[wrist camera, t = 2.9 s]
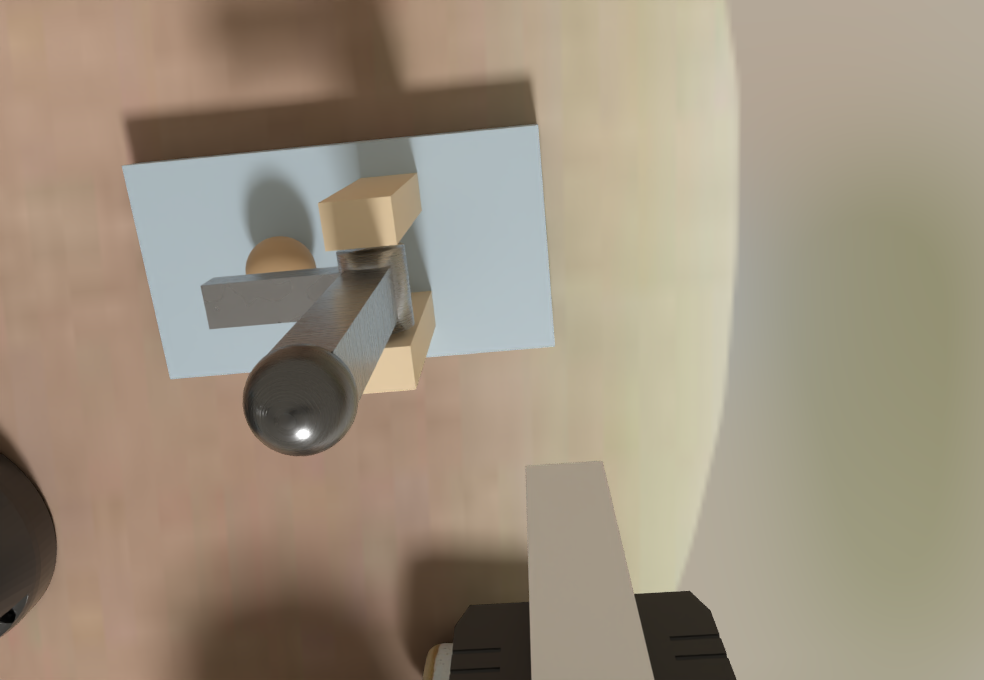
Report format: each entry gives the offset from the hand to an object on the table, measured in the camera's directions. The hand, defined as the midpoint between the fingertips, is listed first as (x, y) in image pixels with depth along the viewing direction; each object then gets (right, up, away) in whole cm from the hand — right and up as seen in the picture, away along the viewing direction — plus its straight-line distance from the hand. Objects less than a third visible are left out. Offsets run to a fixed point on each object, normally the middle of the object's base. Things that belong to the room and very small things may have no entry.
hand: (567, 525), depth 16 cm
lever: (-10, +6, +21) cm, 24 cm away
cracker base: (-9, +9, +30) cm, 32 cm away
